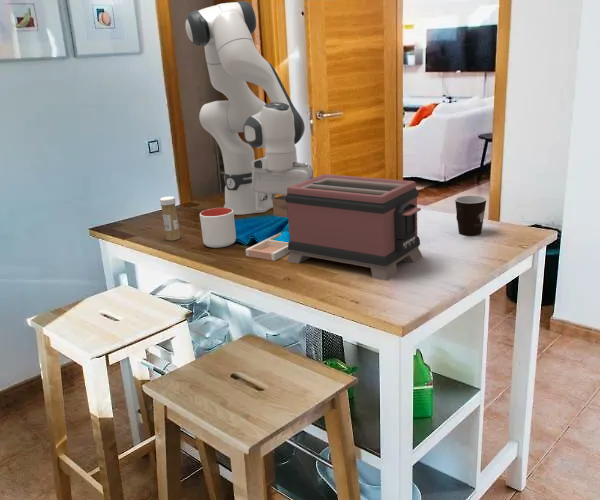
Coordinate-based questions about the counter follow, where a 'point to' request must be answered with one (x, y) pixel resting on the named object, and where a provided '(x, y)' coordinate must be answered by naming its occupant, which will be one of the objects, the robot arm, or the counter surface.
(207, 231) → the cup
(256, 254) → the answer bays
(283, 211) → the walnut block
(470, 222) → the coffee mug
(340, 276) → the counter surface
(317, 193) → the toaster
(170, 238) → the sprinkles bottle
